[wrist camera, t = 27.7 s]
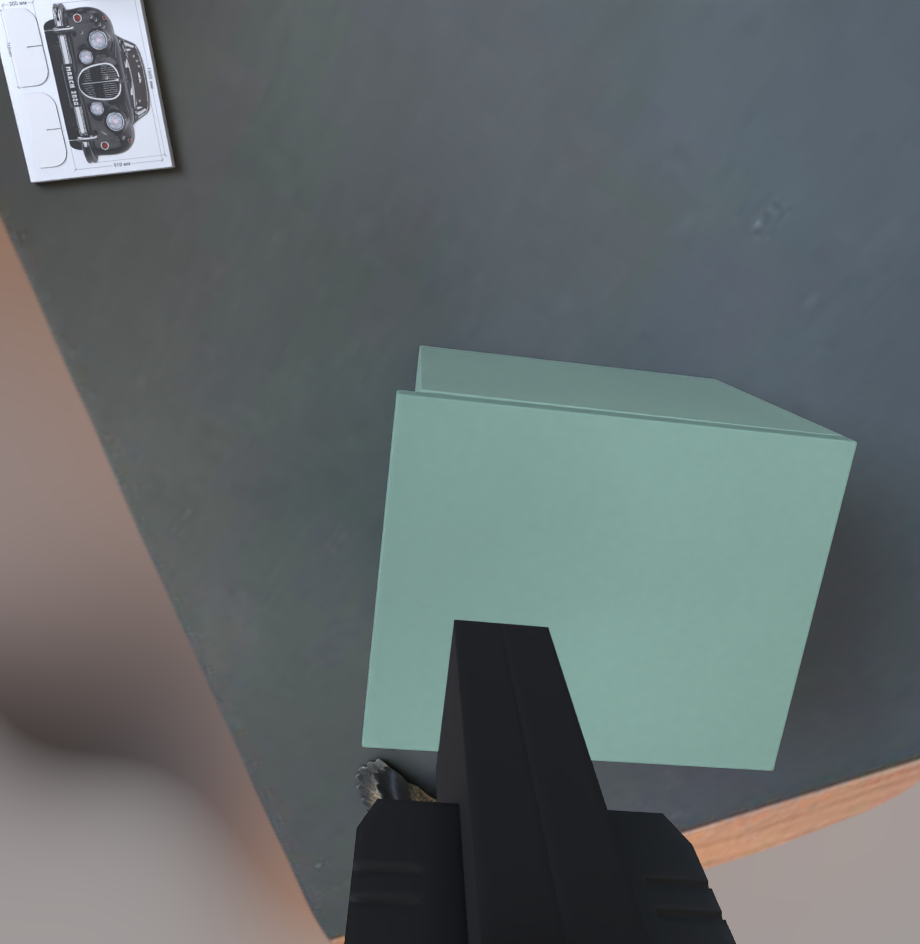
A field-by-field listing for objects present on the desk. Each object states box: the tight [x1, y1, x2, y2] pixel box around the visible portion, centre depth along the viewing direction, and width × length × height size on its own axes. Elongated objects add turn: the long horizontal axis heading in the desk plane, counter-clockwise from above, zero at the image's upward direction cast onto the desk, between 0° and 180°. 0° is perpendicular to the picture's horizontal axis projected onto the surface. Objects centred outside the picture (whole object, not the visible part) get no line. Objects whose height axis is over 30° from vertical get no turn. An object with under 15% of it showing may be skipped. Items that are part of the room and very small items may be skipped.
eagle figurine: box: [356, 759, 437, 811], centre depth 45 cm, size 8×7×9 cm
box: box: [415, 345, 844, 437], centre depth 37 cm, size 16×14×13 cm
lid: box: [362, 390, 857, 771], centre depth 30 cm, size 16×14×1 cm
